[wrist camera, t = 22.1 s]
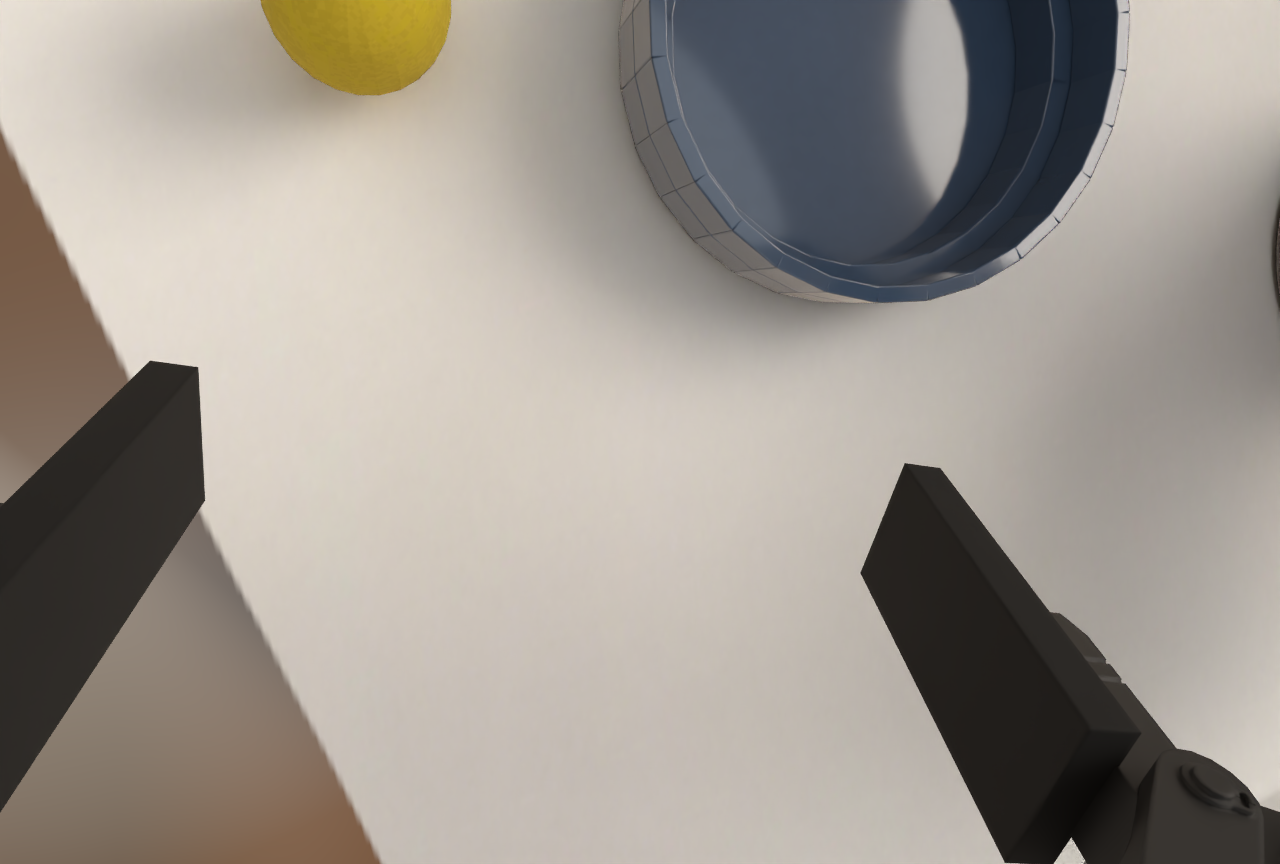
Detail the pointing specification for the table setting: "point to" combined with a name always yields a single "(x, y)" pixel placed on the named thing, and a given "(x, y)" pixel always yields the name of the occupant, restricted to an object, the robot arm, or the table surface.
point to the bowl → (871, 132)
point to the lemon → (361, 40)
